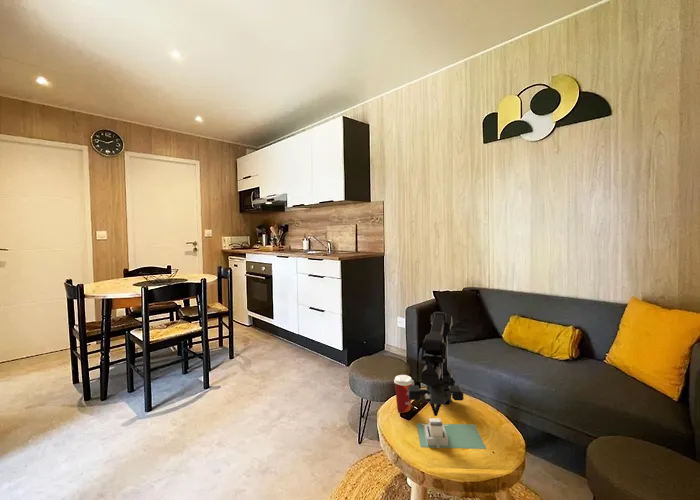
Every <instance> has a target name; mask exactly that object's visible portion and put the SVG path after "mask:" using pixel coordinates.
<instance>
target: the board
mask: <svg viewBox="0 0 700 500" xmlns="http://www.w3.org/2000/svg"><path fill="white" fill-rule="evenodd" d="M442 427H443V438H442V437H430V435H429V423H419V422H417V423H416V428H417V435H418V439H419V446H420V448H430V449H431V448H436V449H441V448H442V449H473V450H474V449H475V450H476V449H477V450H478V449H479V450H481V449H484V450H487V446H486V445H485V443H484V441H483V439H482V437H481V435H480V433H479V430H478V428H477V427H476V424H471V423H470V424H466V423H442Z"/></svg>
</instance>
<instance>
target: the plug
mask: <svg viewBox="0 0 700 500" xmlns="http://www.w3.org/2000/svg"><path fill="white" fill-rule="evenodd" d="M428 424H429V435H430V437H442V438H443V427H442V424H443V422H442V420H441V418H440V417H438V418H434V417H433V418H432V417H431V418H430V417H429V418H428Z"/></svg>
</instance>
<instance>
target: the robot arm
mask: <svg viewBox="0 0 700 500" xmlns="http://www.w3.org/2000/svg"><path fill="white" fill-rule="evenodd" d="M430 324H431V327H430V332H429V333H427V334H426V335H425V337H424V339H423V340H422V343H421V345H422V346H421V356H420V361H422V362H425V364H424V367H423V368H422V372H421V374H420V378H421V380H422V382H423V383H424V385H426V388H420V386H419V385H417V384H415V385H413V384H412V385H409V386H408V395H409V399H410V400H411V401H419V400H420V399H421V396H423V397H424V400H425V402H426V403H429V405H430V407H431V410H432V413H433V415H434V417H437V416H438V414H439V411H440V408H441V407H442V406H443V405H450V404H451V403H453V400H454V401H464V398H465V397H464V392H463V389H462V388H461V386H460V385H456V381H455V377H453V371H452V370H451V368H450V367H449V348H448V346H449V344H448V343H449V342H448V336H449V333H450V332H451V328H452V327H453V316H452V315H450V314H447V313H446V312H443V311H435V312H433V313H432V314H431V315H430Z"/></svg>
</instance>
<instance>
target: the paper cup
mask: <svg viewBox="0 0 700 500" xmlns="http://www.w3.org/2000/svg"><path fill="white" fill-rule="evenodd" d="M393 383H394V387H395V388H394V389H395V398H396V407H397V412H398V413H400V414H401V413H404V412H407V413H408V412H410V411H411V409H412V400H410V399H409V395H408V386H409V385H413V380H412V377H411V376H409V375H407V374H398V375H396V376H395V377H394V379H393Z"/></svg>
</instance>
